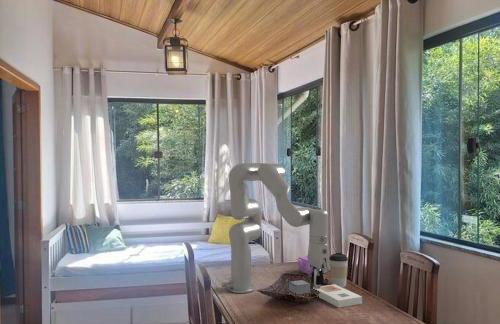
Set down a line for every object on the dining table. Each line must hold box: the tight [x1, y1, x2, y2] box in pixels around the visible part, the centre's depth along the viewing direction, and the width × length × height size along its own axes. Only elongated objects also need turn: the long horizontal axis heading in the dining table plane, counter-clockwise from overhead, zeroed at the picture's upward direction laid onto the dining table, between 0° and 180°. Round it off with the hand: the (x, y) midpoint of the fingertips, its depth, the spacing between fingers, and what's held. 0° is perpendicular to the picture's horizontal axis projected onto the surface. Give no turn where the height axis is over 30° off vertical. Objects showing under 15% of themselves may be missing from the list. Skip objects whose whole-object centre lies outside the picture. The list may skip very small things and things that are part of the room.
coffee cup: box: [329, 252, 349, 288], centre depth 214 cm, size 9×9×15 cm
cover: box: [288, 279, 311, 294], centre depth 197 cm, size 7×7×6 cm
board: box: [312, 284, 363, 309], centre depth 193 cm, size 12×20×3 cm, turn 24°
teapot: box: [296, 254, 312, 276], centre depth 236 cm, size 18×13×10 cm
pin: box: [313, 268, 322, 289], centre depth 183 cm, size 3×3×8 cm
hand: (317, 282), depth 183 cm, fingers closed on pin, 2 cm apart
